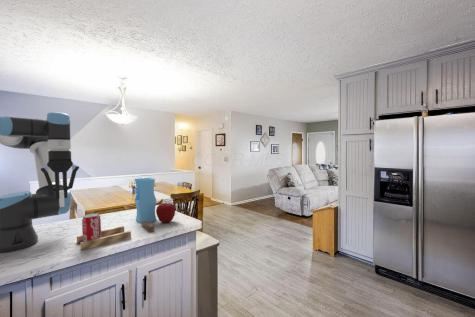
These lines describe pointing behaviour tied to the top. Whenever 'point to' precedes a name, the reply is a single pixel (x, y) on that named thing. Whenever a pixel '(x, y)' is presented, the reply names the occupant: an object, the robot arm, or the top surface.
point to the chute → (105, 237)
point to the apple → (165, 212)
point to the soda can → (91, 227)
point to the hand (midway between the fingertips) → (61, 206)
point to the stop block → (148, 226)
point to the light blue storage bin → (145, 200)
